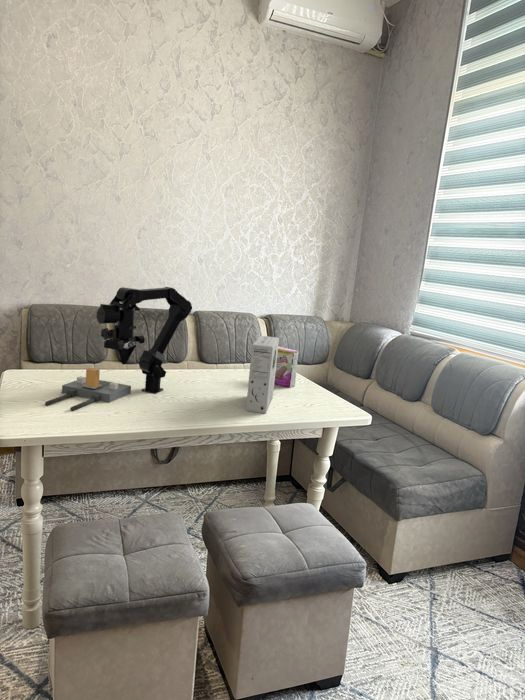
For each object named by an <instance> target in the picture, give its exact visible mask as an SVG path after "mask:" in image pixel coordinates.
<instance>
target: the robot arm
mask: <svg viewBox="0 0 525 700" xmlns="http://www.w3.org/2000/svg"><path fill="white" fill-rule="evenodd" d="M162 299H165V301H166V303H167V304H168V305H169V308H168V318H167V319H166V321H165V323H164V324H163V326H162V329H161V330H160V332H159V333H158V336H157V337H156V339H155V342H154V343H153V345H152V347H151V348H150V349H149V350H143V352H142V354H141V356H140V357H139V362H138V365H139V368H140V370H141V373H142V374H143V375H145V384H144V388H141V392H146V393H151V394H157V393H160V392H163V391H164V388H162V387H161V380H162V378H165V377H166V375H167V371H166V370H165V369H164V368H163V367H162V366H163V362H164V353H165V351H166V349H167V348H168V346H169V344H170V342H171V340H172V338H173V336H174V334H175V333H176V331H177V329H178V327H179V325H180V323H181V322H183V321H184V320H185V319H186V318H188V316H189V315H190V314H191V312H192V310H193V306H192V303H191V302H190V300H187V298H185V297H184V296H183V295H182V294H180V293H179V292H178V291H177V290H176V289H175V288H174V287H170V286H164V287H157V288H154V287H153V288H141V289H137V288H131V287H126V286H125V287H119V288H118V290H117V291H116V294H115V296H113V298H112V300H111V301H110V303H109V304H106V303H101V304H100V305H99V308H98V309H97V311H96V320H97V322H98V323H99V324H101V325H103V324H115V325H114V326H113V328H112V329H109V328H108V327H106V328H102V329H101V330H100V337H101V338H103V339H104V341H103V348H104V349H109V350H116V351H117V353H118V355H119V357H120V362H121V364H122V365H126V364H127V363H128V361H129V359H130V357H131V356H132V354H133V352H134V351H135V349H136V347H137V345H135V344H134V342H138V343H139V344H144V343H145V337H144V335H143V334H136V333H134V329H137V325H135V313H136V311H140V310H141V308H140V307H139V306H138V305H137V304H140V303H142V302H143V301H149V300H162ZM116 323H117V324H116Z"/></svg>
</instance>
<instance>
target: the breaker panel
mask: <svg viewBox="0 0 525 700" xmlns="http://www.w3.org/2000/svg"><path fill="white" fill-rule="evenodd" d="M99 384H100V385H102V386H101V387H98V388H96V389H92V388H86V387H82V386H83V385H86V376H81V375H79V376H76V380H74V381H71V382H68V383H65V384H62V385H61V394H63V395H66V394H68V393H71V394H72V396H71V397H70V398H75V397H79V398H80V397H81V398H85V399H88V400H90V399H92V398H95V399H96V401H95V402H94V403H100V402H106V403H109V404H110V403H112V402H114V401H117V400H118V399H121V398H123V397H126V396H128V395H130V394H131V392H132V391H131V390H132V385H129V384H123V383H120V382H119V383H118V382H113V381H108V380H107V381H106V380H102V379H99Z"/></svg>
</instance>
